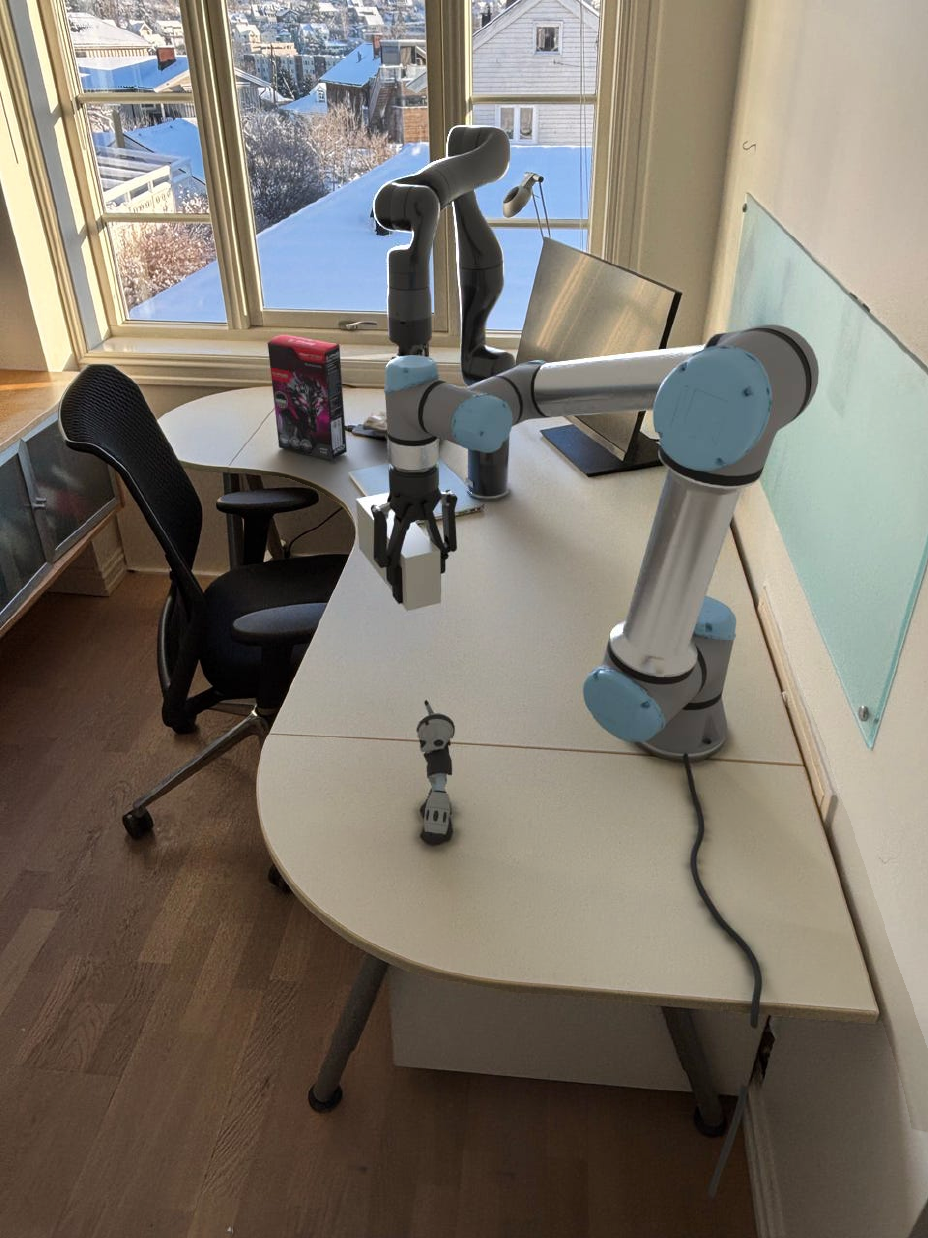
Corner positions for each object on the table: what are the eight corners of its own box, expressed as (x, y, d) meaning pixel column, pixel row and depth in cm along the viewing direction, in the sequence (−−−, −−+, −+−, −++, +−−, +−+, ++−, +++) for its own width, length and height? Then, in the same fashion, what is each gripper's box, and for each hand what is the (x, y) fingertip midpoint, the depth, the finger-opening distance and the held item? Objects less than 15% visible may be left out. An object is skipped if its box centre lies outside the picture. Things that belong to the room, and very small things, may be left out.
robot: (457, 879, 118) (458, 763, 107) (419, 880, 118) (416, 764, 107) (451, 772, 135) (451, 662, 123) (418, 773, 134) (415, 663, 123)
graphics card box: (276, 448, 231) (264, 340, 216) (293, 439, 236) (282, 332, 221) (333, 462, 225) (324, 351, 209) (349, 452, 230) (341, 343, 214)
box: (440, 602, 149) (440, 550, 143) (407, 611, 147) (405, 558, 141) (390, 541, 165) (388, 492, 160) (359, 548, 163) (356, 498, 158)
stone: (346, 435, 230) (351, 411, 228) (368, 426, 244) (372, 404, 241) (425, 459, 227) (430, 436, 224) (442, 449, 240) (447, 427, 238)
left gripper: (402, 299, 164) (404, 388, 173) (374, 321, 153) (378, 415, 162) (442, 303, 162) (442, 392, 171) (417, 325, 151) (419, 419, 160)
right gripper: (460, 443, 143) (459, 571, 156) (344, 464, 136) (353, 596, 149) (481, 461, 137) (479, 593, 150) (362, 484, 130) (370, 620, 143)
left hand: (411, 403), depth 167 cm, fingers open, 8 cm apart
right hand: (416, 594), depth 150 cm, fingers closed on box, 6 cm apart
